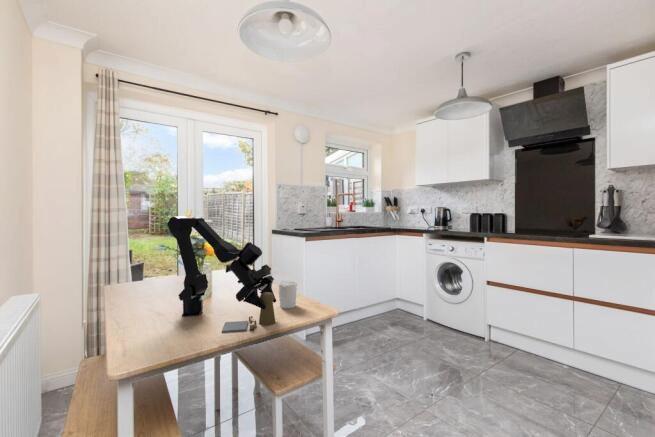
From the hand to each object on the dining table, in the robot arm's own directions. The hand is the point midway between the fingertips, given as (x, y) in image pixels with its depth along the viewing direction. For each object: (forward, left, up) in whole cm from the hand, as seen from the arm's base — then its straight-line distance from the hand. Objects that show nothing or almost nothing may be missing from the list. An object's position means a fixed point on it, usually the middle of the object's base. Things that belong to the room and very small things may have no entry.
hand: (270, 305), depth 110 cm
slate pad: (-12, -2, -7) cm, 14 cm away
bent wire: (-6, -1, -7) cm, 9 cm away
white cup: (+7, +18, -7) cm, 21 cm away
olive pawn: (-1, +1, -7) cm, 7 cm away
